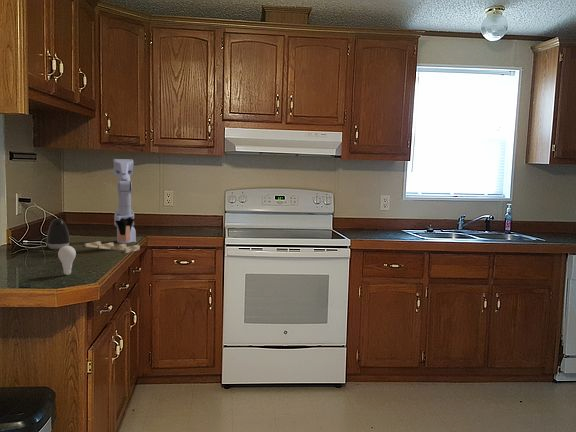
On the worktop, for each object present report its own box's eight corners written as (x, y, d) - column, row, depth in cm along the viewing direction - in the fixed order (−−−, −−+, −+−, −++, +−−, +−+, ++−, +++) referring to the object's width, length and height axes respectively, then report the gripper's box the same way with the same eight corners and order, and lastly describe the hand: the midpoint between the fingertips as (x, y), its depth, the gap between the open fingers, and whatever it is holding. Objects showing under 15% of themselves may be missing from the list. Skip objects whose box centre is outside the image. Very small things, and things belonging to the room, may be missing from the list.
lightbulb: (75, 272, 191) (74, 244, 190) (77, 276, 186) (76, 246, 185) (57, 274, 189) (57, 245, 188) (59, 277, 183) (58, 247, 182)
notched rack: (99, 246, 255) (99, 241, 255) (139, 249, 246) (139, 244, 246) (84, 248, 246) (84, 243, 246) (125, 252, 237) (125, 247, 236)
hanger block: (122, 239, 245) (122, 225, 244) (130, 240, 244) (129, 225, 243) (118, 240, 241) (117, 226, 240) (125, 241, 240) (125, 226, 240)
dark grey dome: (46, 252, 235) (45, 219, 234) (47, 248, 245) (46, 217, 243) (69, 251, 239) (69, 219, 238) (70, 247, 249) (69, 217, 247)
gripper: (124, 204, 249) (125, 232, 250) (109, 206, 235) (109, 235, 236) (138, 205, 247) (138, 232, 249) (122, 207, 233) (123, 236, 234)
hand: (125, 234), depth 242 cm, fingers closed on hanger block, 4 cm apart
